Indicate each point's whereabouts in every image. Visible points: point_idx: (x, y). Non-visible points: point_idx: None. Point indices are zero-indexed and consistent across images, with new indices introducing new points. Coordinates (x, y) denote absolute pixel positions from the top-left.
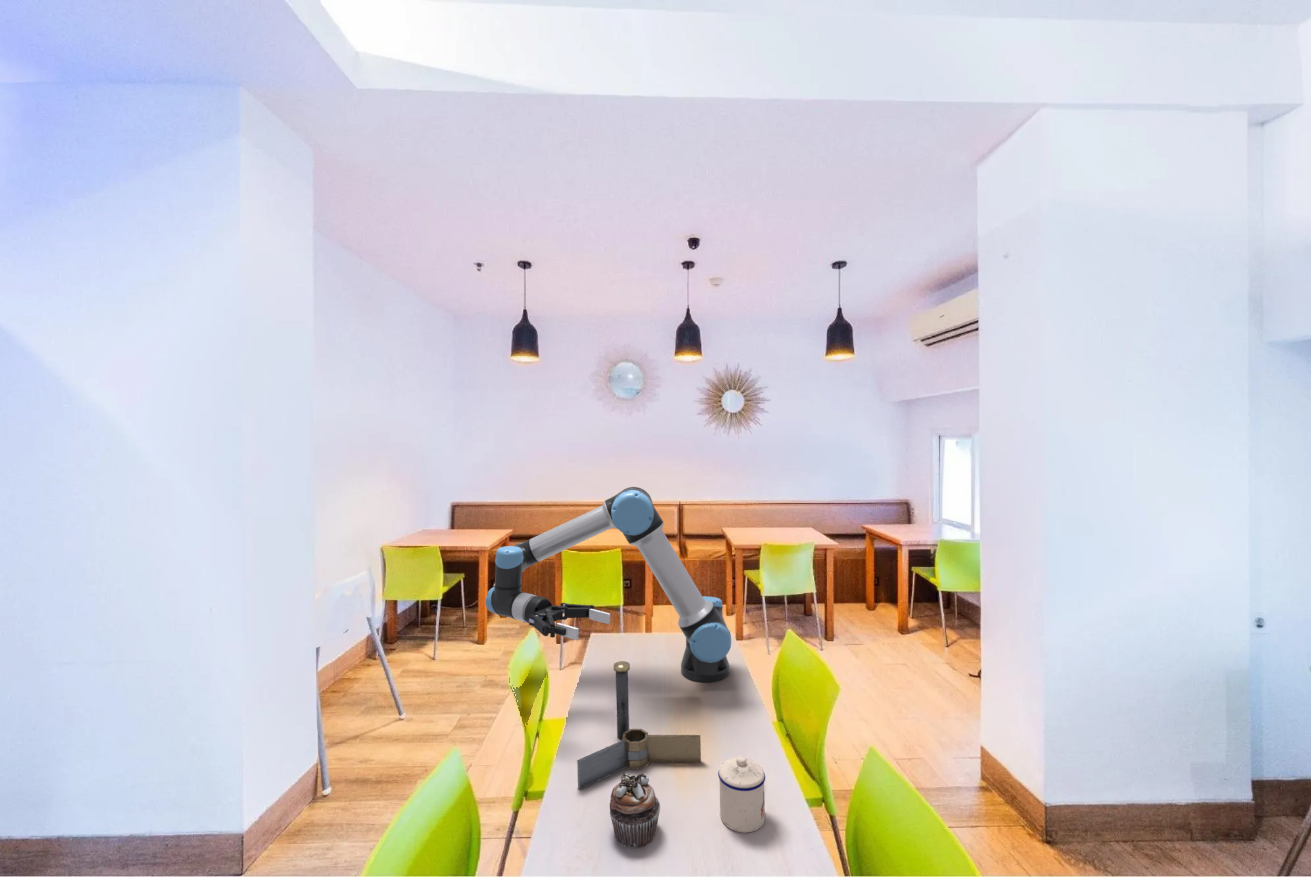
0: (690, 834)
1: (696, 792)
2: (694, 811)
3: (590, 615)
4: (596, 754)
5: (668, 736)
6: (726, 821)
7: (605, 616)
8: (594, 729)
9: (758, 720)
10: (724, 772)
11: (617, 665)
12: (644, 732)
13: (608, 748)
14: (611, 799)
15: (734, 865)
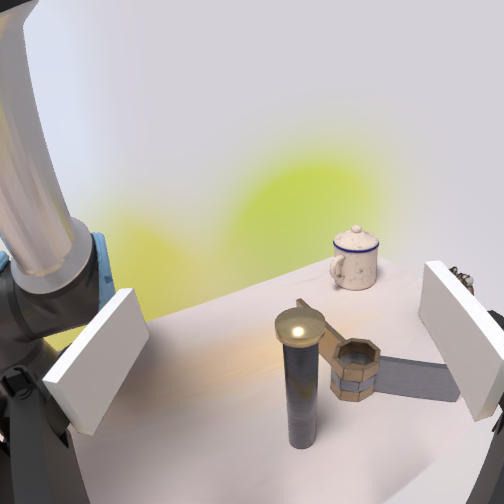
0: (404, 294)
1: (353, 312)
2: (379, 303)
3: (83, 407)
4: (438, 364)
5: (325, 322)
6: (375, 277)
7: (130, 314)
8: (308, 499)
9: (177, 313)
10: (371, 241)
11: (310, 326)
12: (339, 349)
13: (415, 361)
14: (473, 295)
15: (402, 269)
